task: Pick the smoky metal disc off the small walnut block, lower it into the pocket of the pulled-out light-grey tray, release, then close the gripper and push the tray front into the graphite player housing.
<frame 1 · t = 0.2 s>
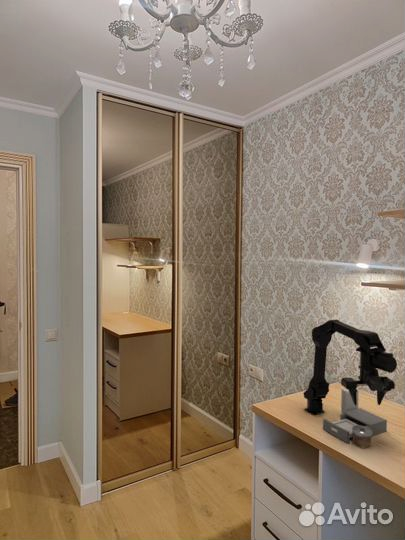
hand: (367, 405, 144), 14 cm above the table, fingers open, 9 cm apart
disc: (362, 433, 141), point 4 cm above the table, touching walnut block
walnut block: (361, 444, 142), on the table
skincare box: (349, 417, 165), on the table
tray: (345, 427, 150), point 2 cm above the table, slide at 9.0 cm
housing: (362, 427, 155), on the table
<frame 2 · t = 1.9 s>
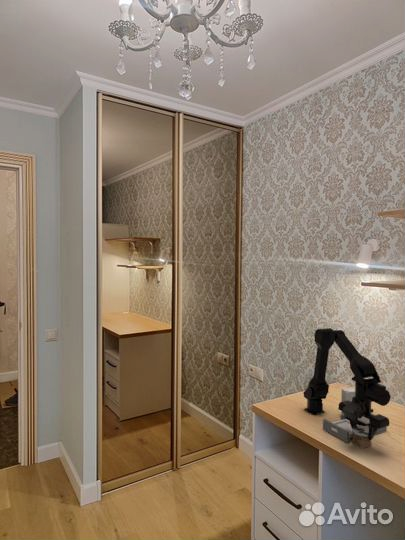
hand: (362, 435, 141), 3 cm above the table, fingers closed on disc, 7 cm apart
disc: (362, 433, 141), point 4 cm above the table, touching gripper, walnut block
everything else where it was.
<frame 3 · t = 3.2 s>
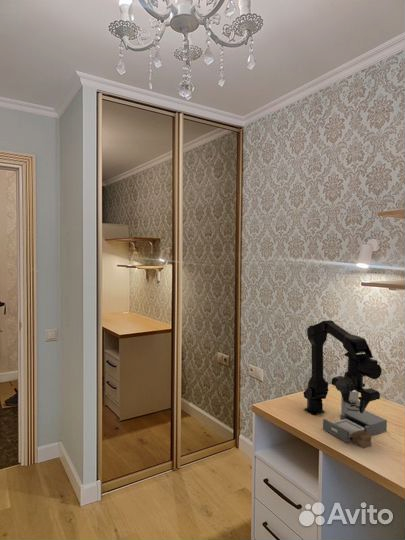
hand: (353, 409, 146), 11 cm above the table, fingers closed on disc, 7 cm apart
disc: (353, 407, 146), point 12 cm above the table, touching gripper
everything else where it was.
when the fingers open (3 cm above the table, at t = 5.0 s): disc drops 2 cm, resting on tray.
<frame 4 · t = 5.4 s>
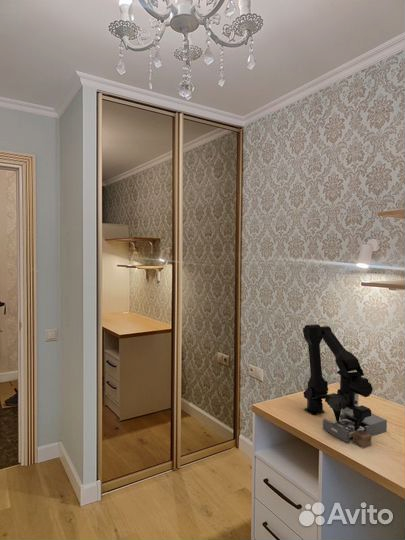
hand: (346, 425, 150), 3 cm above the table, fingers open, 9 cm apart
disc: (346, 428, 150), point 2 cm above the table, touching tray
tray: (345, 427, 150), point 2 cm above the table, slide at 9.0 cm, touching disc
everything else where it was.
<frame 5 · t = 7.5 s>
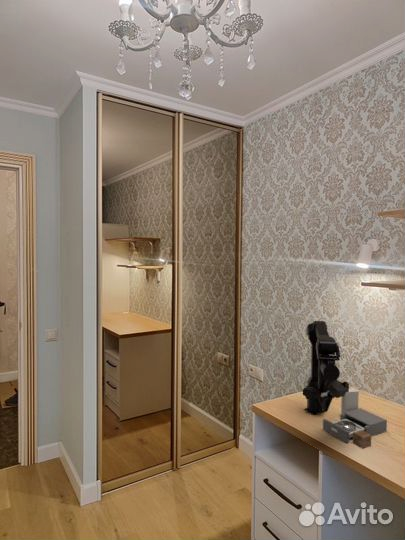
hand: (325, 411, 144), 11 cm above the table, fingers closed
nothing on the table moved.
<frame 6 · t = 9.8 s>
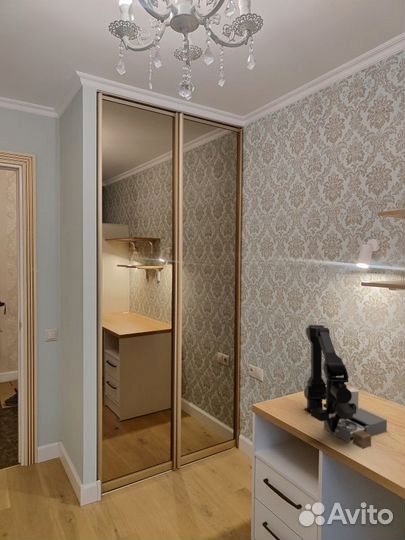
hand: (332, 431, 147), 2 cm above the table, fingers closed
tray: (346, 427, 150), point 2 cm above the table, slide at 8.4 cm, touching disc, gripper
everything else where it was.
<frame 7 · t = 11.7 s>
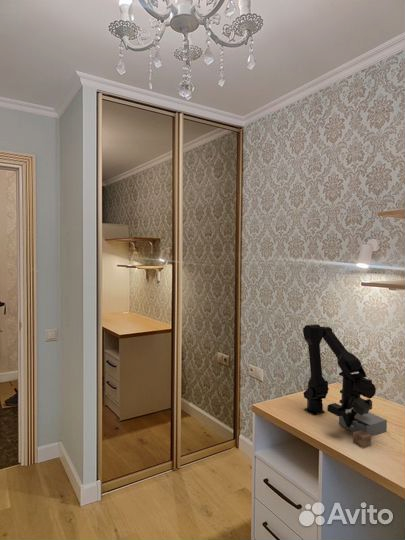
hand: (348, 427, 151), 2 cm above the table, fingers closed
disc: (362, 423, 155), point 2 cm above the table, touching tray
tray: (360, 422, 154), point 2 cm above the table, slide at -0.1 cm, touching disc, gripper
everything else where it was.
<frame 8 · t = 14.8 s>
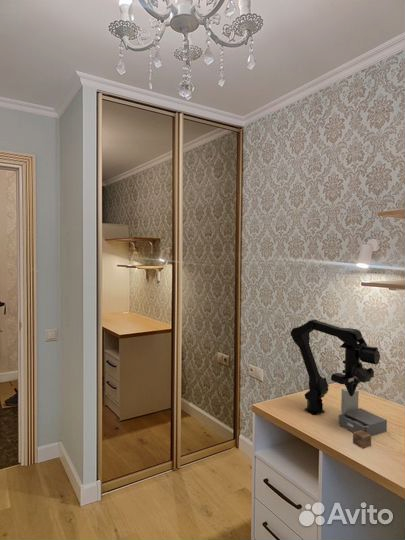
hand: (351, 395, 158), 12 cm above the table, fingers closed
tray: (360, 422, 154), point 2 cm above the table, slide at 0.0 cm, touching disc
everything else where it was.
at the end: tray slide at 0.0 cm; disc inside the target area on the housing (0.1 cm from its centre), point 1.8 cm above the housing's base; disc tilted 0° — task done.
